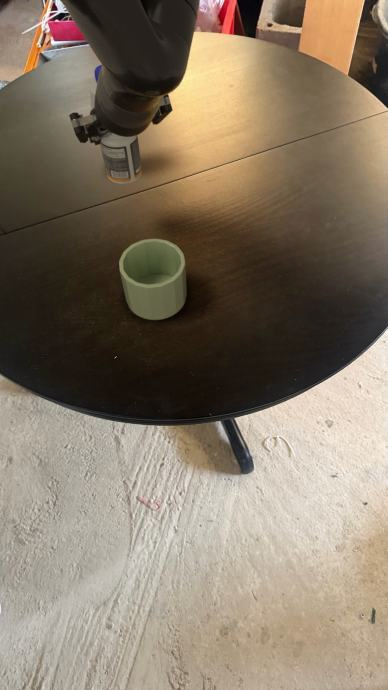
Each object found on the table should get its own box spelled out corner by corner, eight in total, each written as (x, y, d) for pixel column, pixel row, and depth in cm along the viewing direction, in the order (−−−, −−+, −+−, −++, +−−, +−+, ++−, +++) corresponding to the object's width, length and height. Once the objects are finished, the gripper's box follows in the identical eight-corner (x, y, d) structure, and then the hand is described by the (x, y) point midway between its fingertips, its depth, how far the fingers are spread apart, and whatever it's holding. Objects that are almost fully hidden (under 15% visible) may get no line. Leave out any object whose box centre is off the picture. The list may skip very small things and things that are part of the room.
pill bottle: (126, 159, 79) (117, 100, 70) (149, 174, 76) (143, 115, 68) (99, 174, 76) (87, 115, 68) (122, 191, 74) (111, 132, 66)
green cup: (128, 323, 75) (121, 290, 68) (124, 277, 80) (117, 242, 73) (190, 316, 75) (188, 283, 69) (182, 270, 81) (180, 235, 74)
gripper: (176, 47, 57) (152, 96, 73) (58, 73, 54) (60, 118, 70) (194, 112, 58) (166, 146, 74) (80, 141, 55) (77, 170, 72)
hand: (115, 132), depth 72 cm, fingers closed on pill bottle, 5 cm apart
